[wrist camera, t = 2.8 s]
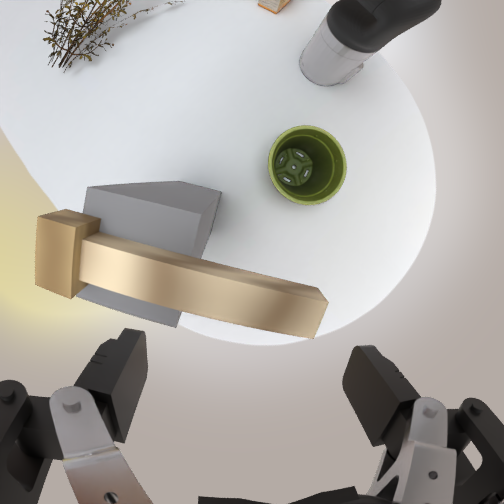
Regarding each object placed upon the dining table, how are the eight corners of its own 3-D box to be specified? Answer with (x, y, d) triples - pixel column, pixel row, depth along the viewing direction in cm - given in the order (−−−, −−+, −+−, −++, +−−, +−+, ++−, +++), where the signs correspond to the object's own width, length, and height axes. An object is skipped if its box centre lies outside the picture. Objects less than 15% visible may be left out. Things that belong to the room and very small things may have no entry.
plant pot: (259, 135, 47) (267, 123, 36) (322, 138, 48) (345, 128, 37) (260, 199, 50) (268, 205, 39) (323, 199, 51) (346, 205, 40)
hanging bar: (321, 275, 18) (339, 295, 15) (300, 332, 19) (312, 359, 16) (66, 209, 16) (37, 216, 12) (60, 268, 17) (35, 284, 13)
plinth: (221, 191, 49) (201, 214, 17) (210, 233, 51) (176, 327, 18) (179, 181, 48) (87, 187, 16) (168, 223, 50) (75, 296, 17)
